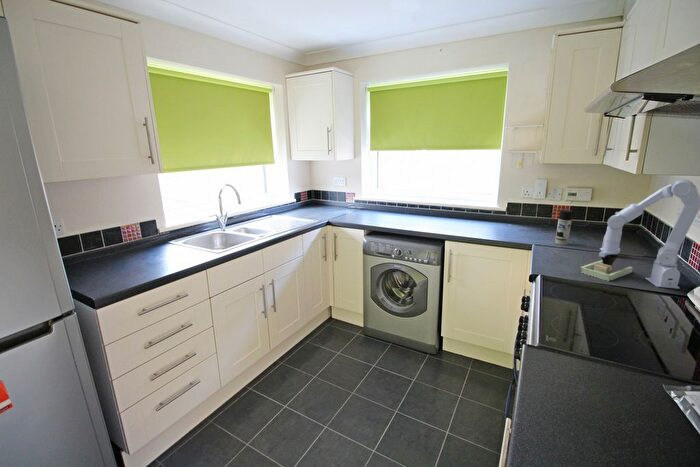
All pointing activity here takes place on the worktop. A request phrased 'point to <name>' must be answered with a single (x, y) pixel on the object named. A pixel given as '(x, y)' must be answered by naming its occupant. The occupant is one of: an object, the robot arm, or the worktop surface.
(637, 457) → the worktop surface
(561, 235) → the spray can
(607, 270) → the maple block
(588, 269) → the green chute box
